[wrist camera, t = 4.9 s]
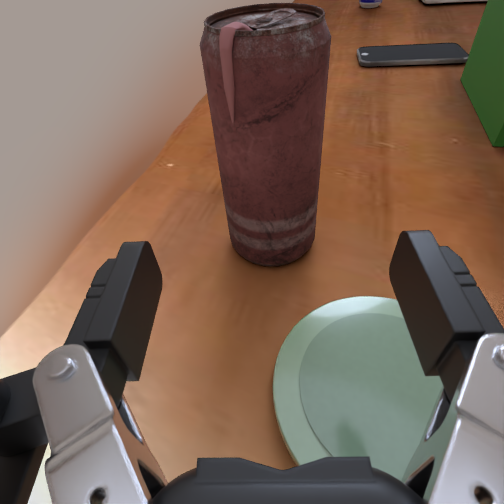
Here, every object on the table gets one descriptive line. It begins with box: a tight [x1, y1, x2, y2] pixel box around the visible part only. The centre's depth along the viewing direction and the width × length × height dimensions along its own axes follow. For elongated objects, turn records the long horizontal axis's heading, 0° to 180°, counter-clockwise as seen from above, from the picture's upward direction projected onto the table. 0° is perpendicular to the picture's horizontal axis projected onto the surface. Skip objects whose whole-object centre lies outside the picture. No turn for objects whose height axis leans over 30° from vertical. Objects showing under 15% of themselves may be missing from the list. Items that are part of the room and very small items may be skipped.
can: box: [200, 3, 331, 266], centre depth 20 cm, size 6×6×14 cm
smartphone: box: [357, 43, 469, 66], centre depth 51 cm, size 8×1×15 cm
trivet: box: [273, 296, 443, 481], centre depth 16 cm, size 11×11×1 cm
